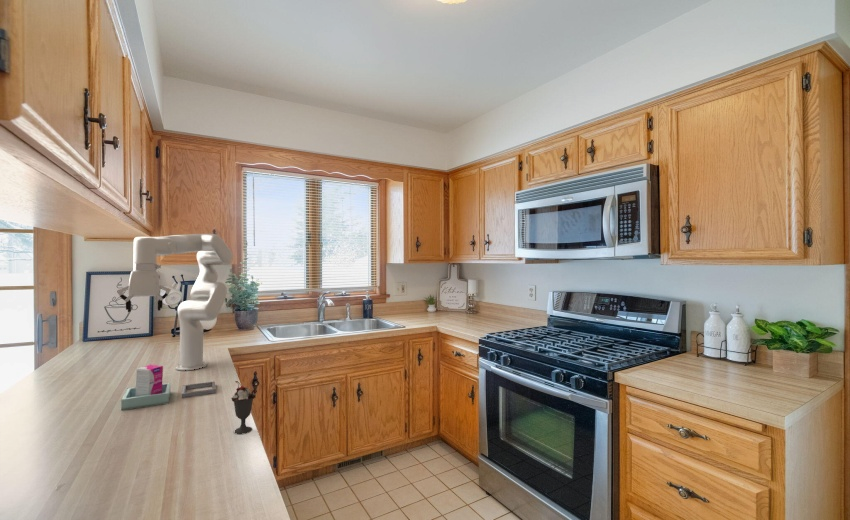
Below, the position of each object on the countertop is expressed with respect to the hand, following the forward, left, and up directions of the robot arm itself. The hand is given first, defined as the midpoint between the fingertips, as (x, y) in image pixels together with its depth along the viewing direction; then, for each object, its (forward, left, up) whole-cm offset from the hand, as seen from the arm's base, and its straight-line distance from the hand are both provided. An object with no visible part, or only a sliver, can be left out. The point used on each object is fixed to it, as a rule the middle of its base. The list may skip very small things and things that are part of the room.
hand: (144, 310), depth 154 cm
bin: (+19, +3, -30) cm, 36 cm away
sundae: (+62, +30, -31) cm, 76 cm away
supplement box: (+19, +3, -30) cm, 35 cm away
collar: (+16, +19, -30) cm, 39 cm away
